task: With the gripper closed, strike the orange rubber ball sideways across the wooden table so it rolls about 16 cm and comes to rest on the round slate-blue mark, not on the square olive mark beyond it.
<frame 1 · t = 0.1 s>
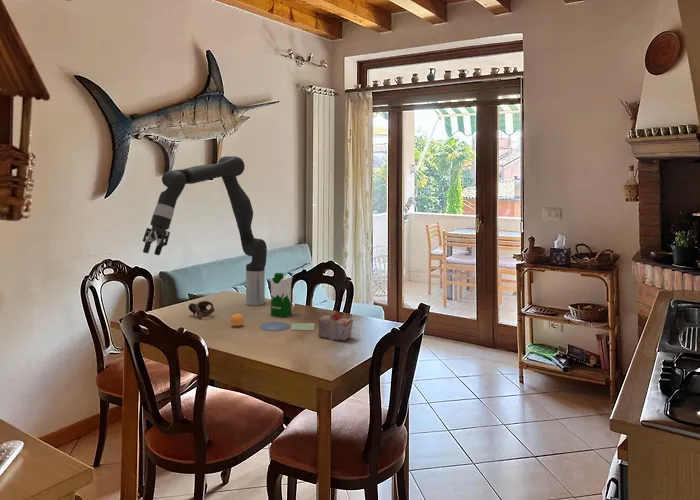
hand: (150, 253, 211), 31 cm above the table, tool tilted 20°, fingers open, 8 cm apart
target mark: (274, 326, 221), on the table
milk carton: (281, 315, 240), on the table
food item: (335, 338, 207), on the table
ball: (237, 320, 220), on the table
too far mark: (302, 326, 222), on the table
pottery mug: (201, 317, 235), on the table
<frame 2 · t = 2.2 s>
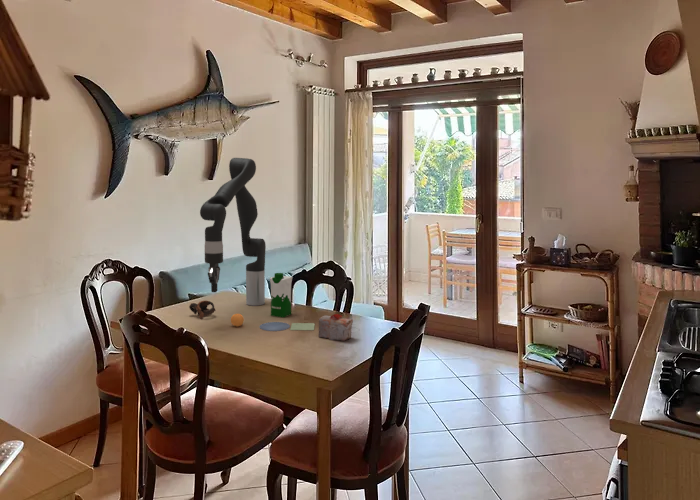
hand: (214, 291, 218), 15 cm above the table, tool pointing down, fingers closed
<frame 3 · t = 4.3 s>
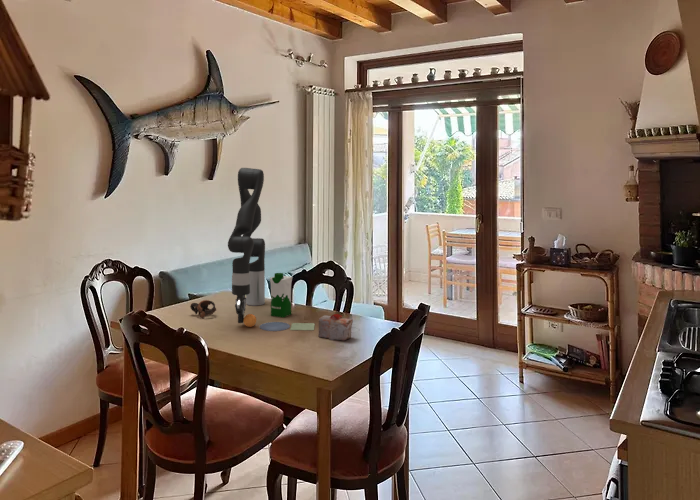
hand: (240, 322, 220), 2 cm above the table, tool pointing down, fingers closed
ball: (249, 320, 220), on the table, touching gripper
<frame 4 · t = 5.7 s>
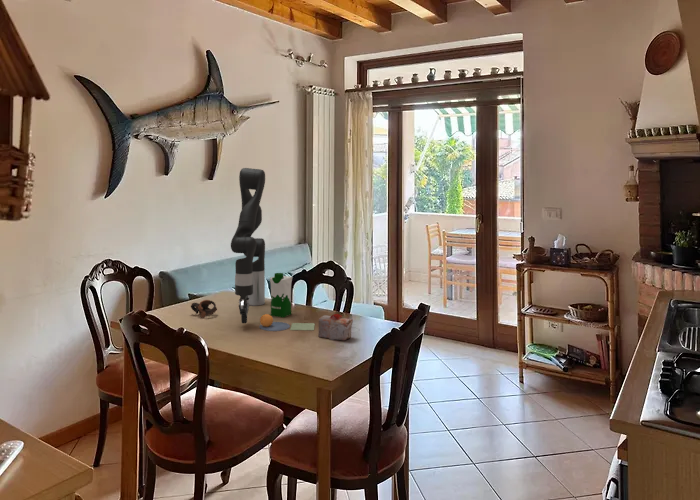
hand: (244, 322, 220), 2 cm above the table, tool pointing down, fingers closed
ball: (266, 320, 220), on the table
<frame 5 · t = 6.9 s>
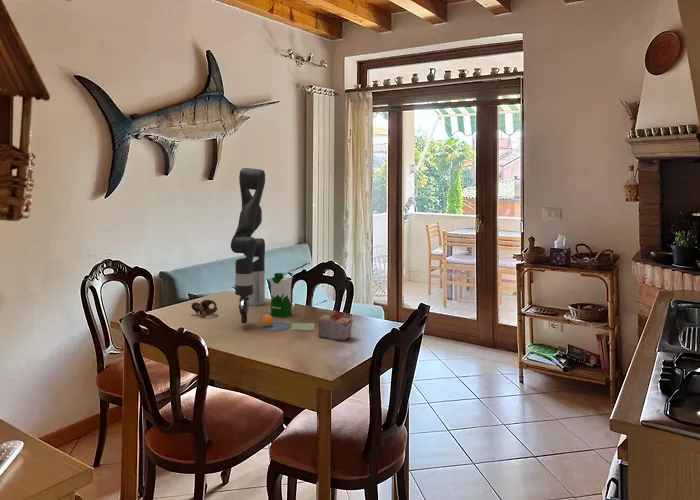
hand: (244, 322, 220), 2 cm above the table, tool pointing down, fingers closed
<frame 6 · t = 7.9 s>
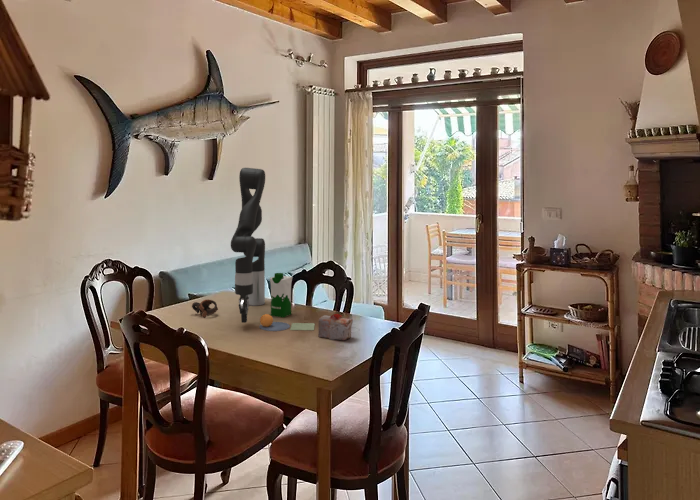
hand: (244, 322, 220), 2 cm above the table, tool pointing down, fingers closed
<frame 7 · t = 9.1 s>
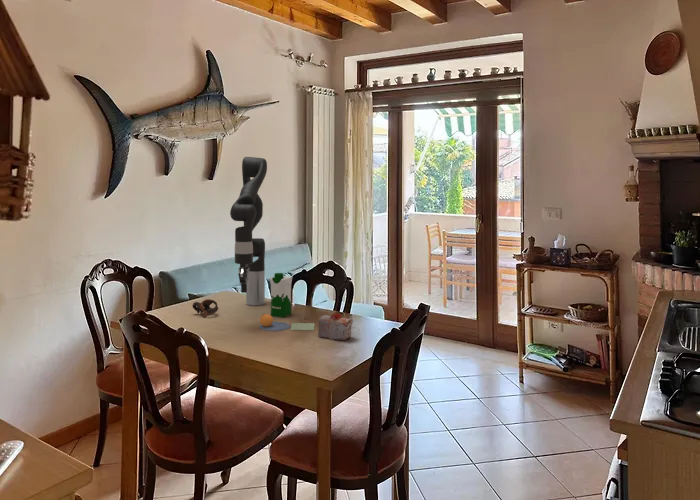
hand: (244, 292, 219), 15 cm above the table, tool pointing down, fingers closed
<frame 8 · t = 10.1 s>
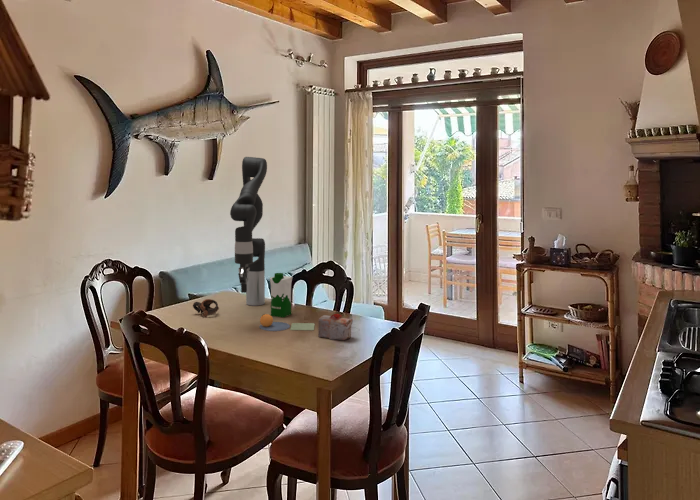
hand: (244, 292, 219), 15 cm above the table, tool pointing down, fingers closed
at the end: ball 3.5 cm from the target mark (horizontally); ball at rest at the end (0.0 cm/s); ball moved 12.5 cm from its start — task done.
